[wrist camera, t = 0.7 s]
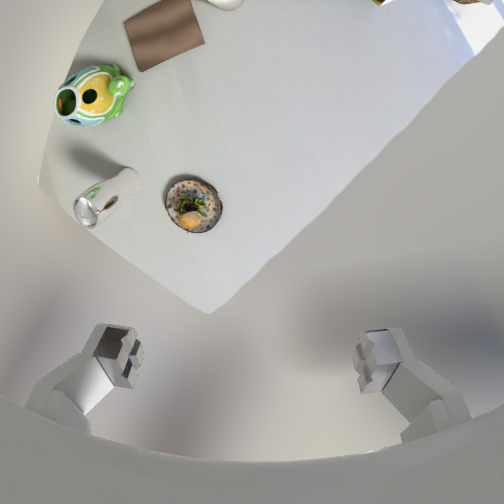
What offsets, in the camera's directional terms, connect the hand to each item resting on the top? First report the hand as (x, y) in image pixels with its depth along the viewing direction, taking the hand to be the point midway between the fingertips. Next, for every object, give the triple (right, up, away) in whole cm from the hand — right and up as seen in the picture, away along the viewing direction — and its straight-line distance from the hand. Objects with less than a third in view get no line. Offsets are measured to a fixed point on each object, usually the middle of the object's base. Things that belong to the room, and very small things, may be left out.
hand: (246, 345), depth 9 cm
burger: (-11, +13, +46) cm, 49 cm away
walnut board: (-15, +42, +26) cm, 52 cm away
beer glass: (-26, +19, +45) cm, 55 cm away
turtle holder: (-28, +36, +34) cm, 56 cm away
